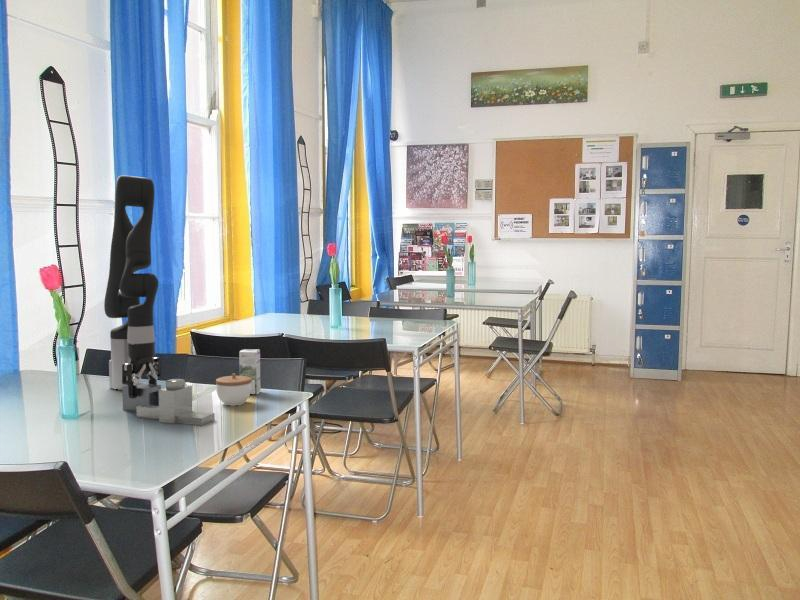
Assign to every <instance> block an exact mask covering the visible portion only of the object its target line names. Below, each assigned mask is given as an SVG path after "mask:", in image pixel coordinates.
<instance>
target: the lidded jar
mask: <svg viewBox="0 0 800 600" xmlns="http://www.w3.org/2000/svg"><path fill="white" fill-rule="evenodd" d="M251 382H252V378H251V377H248V376H240V375H236V373H233V372H232V374H231V375H226V376H220V377H217V378H216V379H215V384H216V386H215V387H216V394H217V397H218V399H219V400H220V401H221V403H223V405H224V404H225V405H224V406H227V405H230V406H229V407H236V406H235V405H238V406H242V404H243V405H244V404H245V402H247V401H248V399H249V398H250V396H251V395H250V393H251Z"/></svg>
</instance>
